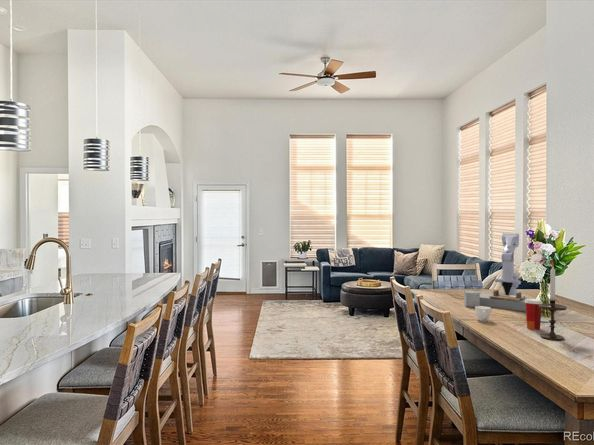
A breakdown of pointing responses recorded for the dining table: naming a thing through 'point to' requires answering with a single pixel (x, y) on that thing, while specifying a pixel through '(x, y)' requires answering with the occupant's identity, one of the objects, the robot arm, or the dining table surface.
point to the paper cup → (533, 313)
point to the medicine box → (472, 299)
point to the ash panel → (514, 297)
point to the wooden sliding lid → (498, 295)
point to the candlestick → (552, 309)
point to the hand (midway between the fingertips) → (507, 295)
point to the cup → (483, 313)
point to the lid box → (502, 303)
